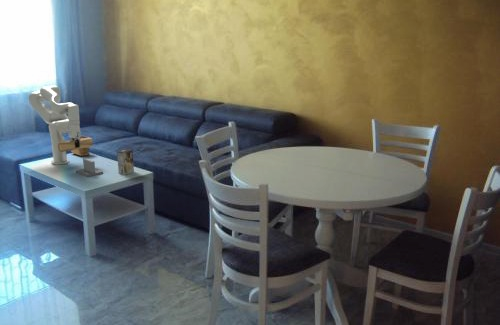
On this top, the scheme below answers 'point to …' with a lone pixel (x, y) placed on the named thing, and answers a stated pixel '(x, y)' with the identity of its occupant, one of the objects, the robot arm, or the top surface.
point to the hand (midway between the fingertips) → (75, 146)
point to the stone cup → (81, 151)
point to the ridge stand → (89, 168)
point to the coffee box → (125, 161)
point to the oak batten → (71, 144)
